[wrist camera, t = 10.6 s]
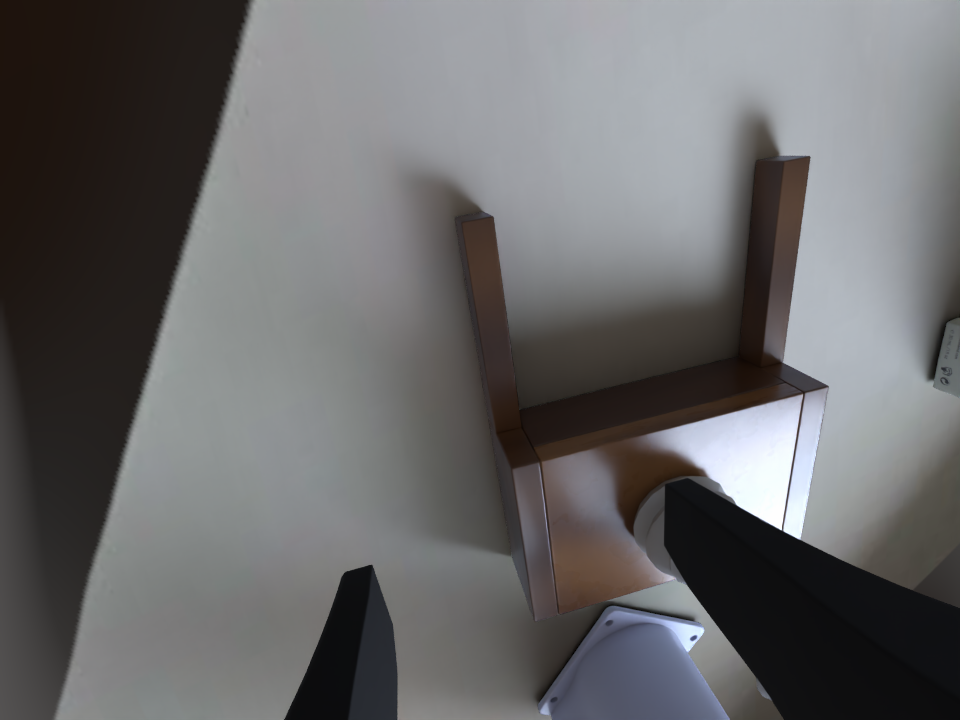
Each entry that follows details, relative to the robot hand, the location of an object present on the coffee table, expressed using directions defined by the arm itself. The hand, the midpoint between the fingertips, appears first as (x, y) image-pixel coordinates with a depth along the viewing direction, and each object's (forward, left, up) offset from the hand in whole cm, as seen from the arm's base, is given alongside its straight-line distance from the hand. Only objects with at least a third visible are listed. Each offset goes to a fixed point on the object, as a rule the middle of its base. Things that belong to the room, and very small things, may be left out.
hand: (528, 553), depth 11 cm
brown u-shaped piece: (+3, -8, -10) cm, 13 cm away
